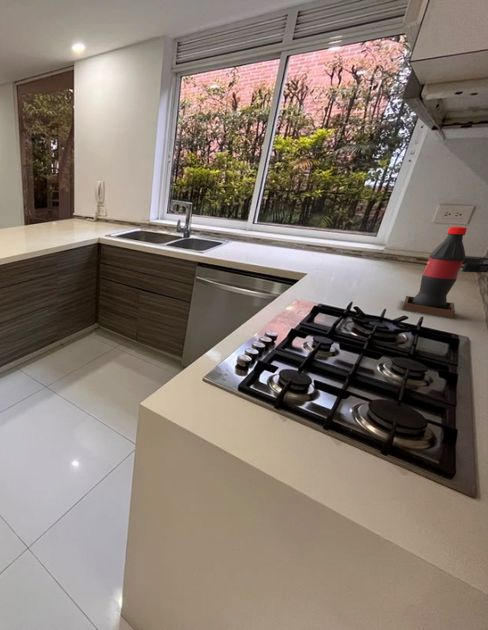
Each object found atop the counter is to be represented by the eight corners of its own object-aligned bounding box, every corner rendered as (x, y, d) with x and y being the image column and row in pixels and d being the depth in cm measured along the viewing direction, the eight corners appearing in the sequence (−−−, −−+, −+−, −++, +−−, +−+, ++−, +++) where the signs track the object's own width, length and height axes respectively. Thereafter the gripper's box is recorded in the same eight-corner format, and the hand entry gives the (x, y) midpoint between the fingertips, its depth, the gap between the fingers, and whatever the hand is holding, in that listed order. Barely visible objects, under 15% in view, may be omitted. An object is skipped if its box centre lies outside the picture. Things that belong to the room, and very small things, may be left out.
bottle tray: (450, 321, 115) (455, 311, 114) (400, 312, 124) (404, 303, 123) (450, 312, 124) (453, 303, 122) (403, 304, 132) (406, 295, 131)
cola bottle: (441, 310, 124) (476, 226, 113) (443, 316, 118) (479, 228, 107) (410, 305, 129) (439, 224, 119) (409, 310, 124) (441, 226, 113)
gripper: (557, 285, 104) (476, 283, 107) (479, 267, 127) (414, 266, 130) (569, 261, 101) (486, 259, 104) (487, 247, 124) (421, 246, 127)
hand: (446, 263), depth 117 cm, fingers open, 13 cm apart
